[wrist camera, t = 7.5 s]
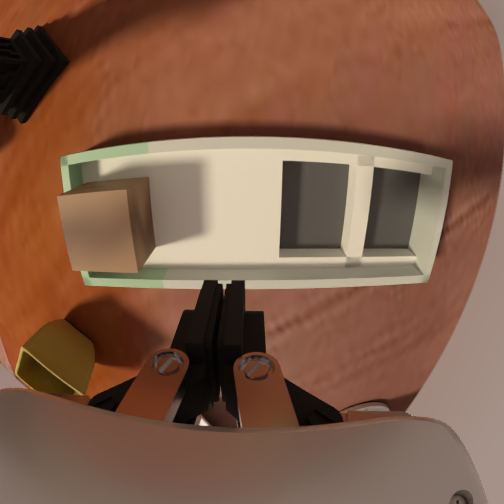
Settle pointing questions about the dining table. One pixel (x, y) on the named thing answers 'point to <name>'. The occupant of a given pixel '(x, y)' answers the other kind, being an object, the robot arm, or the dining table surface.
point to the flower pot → (57, 360)
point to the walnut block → (108, 225)
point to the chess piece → (27, 70)
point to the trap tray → (277, 211)
